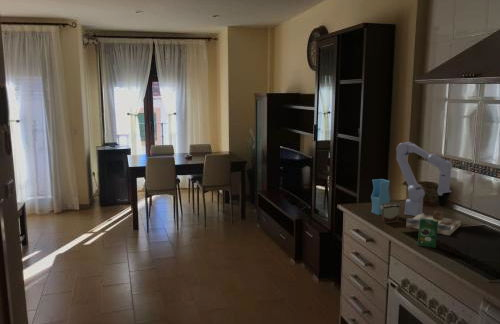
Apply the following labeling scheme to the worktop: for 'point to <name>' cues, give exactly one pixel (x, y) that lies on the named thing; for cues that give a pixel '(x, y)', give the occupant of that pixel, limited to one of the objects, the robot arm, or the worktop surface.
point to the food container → (390, 212)
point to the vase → (379, 195)
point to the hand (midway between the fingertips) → (442, 205)
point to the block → (438, 215)
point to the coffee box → (427, 233)
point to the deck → (444, 224)
